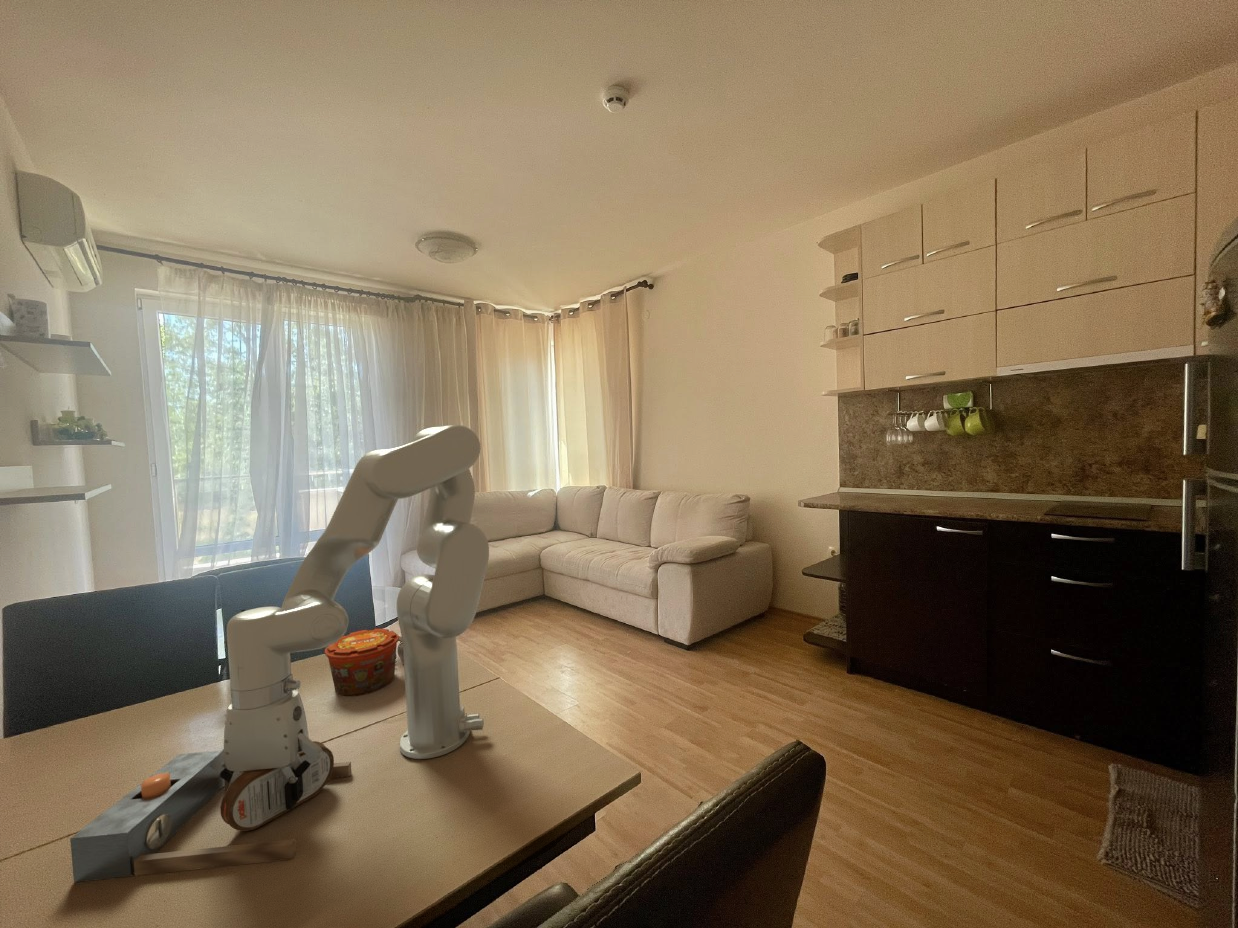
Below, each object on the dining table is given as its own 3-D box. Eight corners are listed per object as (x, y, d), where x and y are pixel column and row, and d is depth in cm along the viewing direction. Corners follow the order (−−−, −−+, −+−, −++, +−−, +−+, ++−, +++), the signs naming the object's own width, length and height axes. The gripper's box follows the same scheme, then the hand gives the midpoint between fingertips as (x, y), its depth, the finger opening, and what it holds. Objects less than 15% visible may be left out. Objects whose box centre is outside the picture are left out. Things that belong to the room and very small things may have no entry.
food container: (336, 707, 108) (333, 659, 108) (320, 683, 120) (317, 640, 120) (411, 682, 119) (408, 638, 119) (389, 662, 131) (386, 622, 130)
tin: (329, 779, 84) (325, 730, 84) (339, 784, 83) (334, 734, 82) (221, 839, 72) (216, 781, 72) (230, 847, 70) (224, 788, 70)
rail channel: (351, 772, 86) (350, 761, 86) (291, 858, 68) (291, 844, 68) (229, 784, 84) (228, 772, 84) (134, 875, 66) (133, 861, 66)
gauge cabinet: (228, 784, 84) (226, 749, 84) (134, 875, 66) (131, 832, 66) (181, 788, 83) (179, 753, 83) (73, 881, 65) (70, 838, 65)
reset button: (177, 790, 76) (175, 771, 76) (159, 805, 73) (158, 785, 73) (154, 792, 76) (153, 773, 76) (136, 807, 73) (134, 787, 73)
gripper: (333, 675, 80) (340, 783, 80) (219, 684, 78) (226, 794, 79) (309, 698, 72) (316, 817, 73) (182, 709, 71) (190, 830, 71)
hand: (270, 804), depth 76 cm, fingers open, 6 cm apart
